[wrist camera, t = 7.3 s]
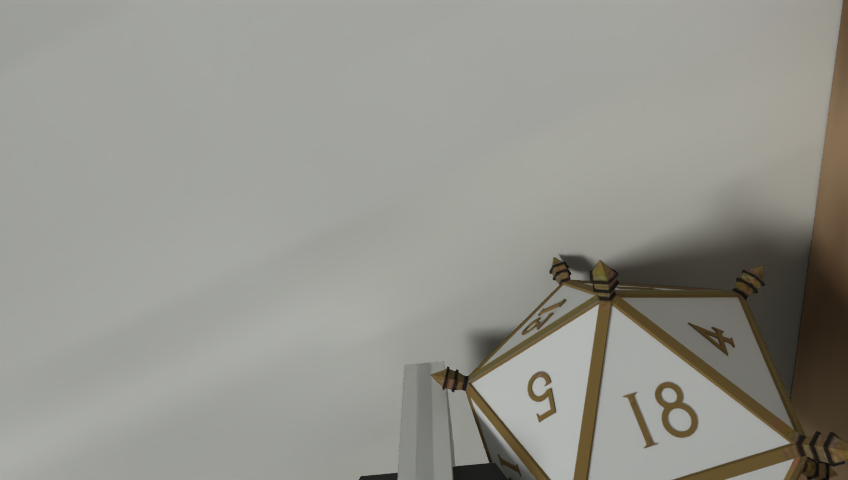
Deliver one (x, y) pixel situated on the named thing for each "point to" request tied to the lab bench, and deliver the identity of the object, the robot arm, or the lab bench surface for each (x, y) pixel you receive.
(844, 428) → the board
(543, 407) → the game die
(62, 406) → the lab bench surface
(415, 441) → the robot arm
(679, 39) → the lab bench surface
